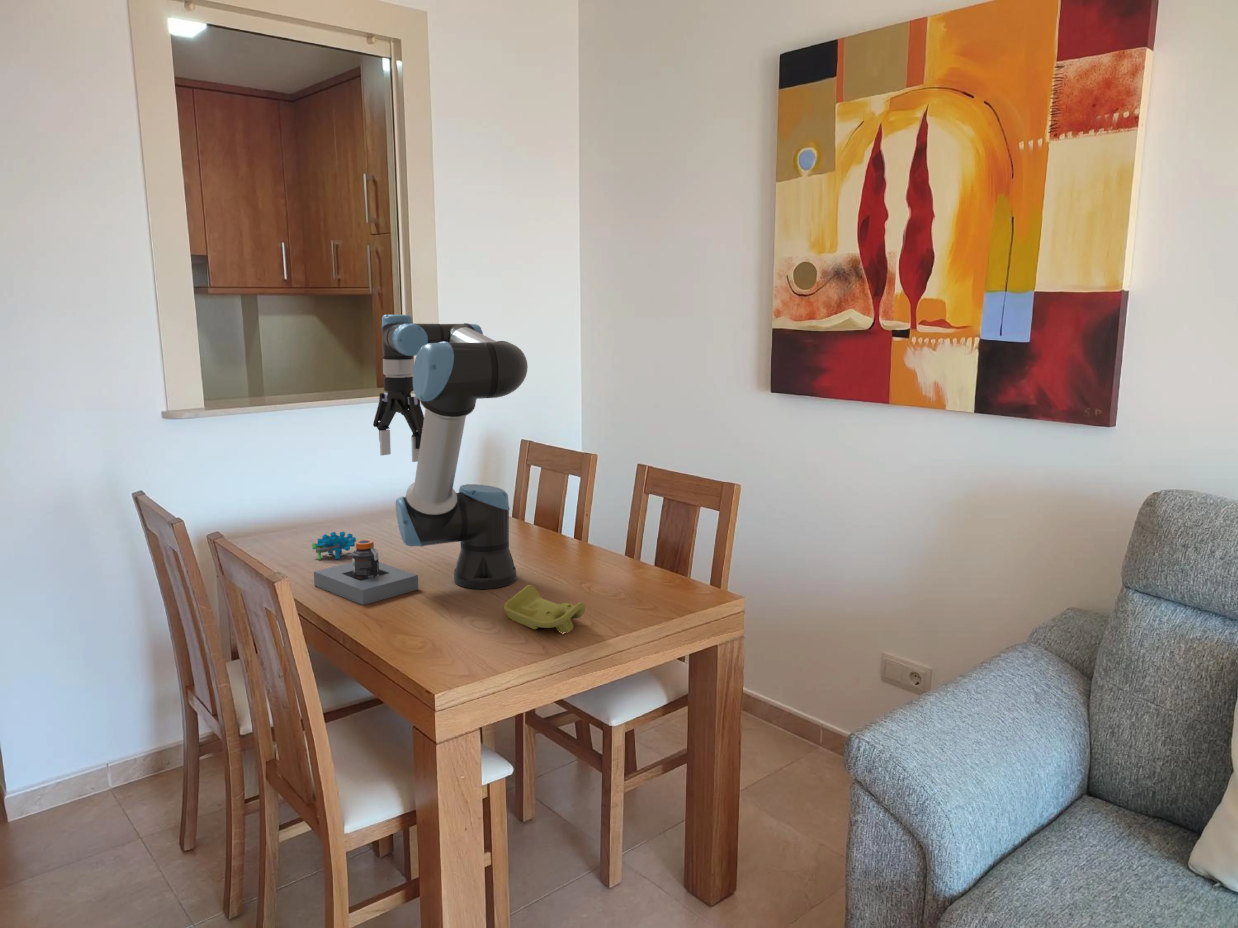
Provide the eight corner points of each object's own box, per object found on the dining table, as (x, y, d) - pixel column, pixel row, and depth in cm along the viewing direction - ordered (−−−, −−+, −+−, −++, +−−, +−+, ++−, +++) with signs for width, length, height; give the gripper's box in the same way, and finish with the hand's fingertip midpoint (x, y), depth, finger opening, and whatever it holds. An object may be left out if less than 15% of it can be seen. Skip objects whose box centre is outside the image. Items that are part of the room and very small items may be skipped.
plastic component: (499, 607, 187) (533, 579, 192) (513, 633, 190) (547, 606, 195) (551, 627, 172) (586, 597, 177) (565, 656, 174) (600, 625, 179)
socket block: (418, 589, 205) (417, 574, 204) (363, 605, 193) (362, 590, 193) (368, 571, 217) (368, 558, 217) (314, 585, 206) (313, 571, 205)
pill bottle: (385, 586, 206) (383, 540, 204) (367, 593, 201) (365, 546, 199) (366, 582, 209) (364, 536, 207) (348, 589, 204) (345, 542, 202)
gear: (358, 544, 235) (352, 526, 227) (360, 564, 232) (354, 546, 224) (316, 552, 233) (308, 534, 225) (317, 571, 230) (309, 553, 221)
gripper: (441, 378, 216) (443, 462, 220) (382, 372, 232) (384, 450, 236) (416, 380, 211) (419, 466, 214) (357, 373, 226) (360, 453, 230)
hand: (401, 458), depth 225 cm, fingers open, 13 cm apart
